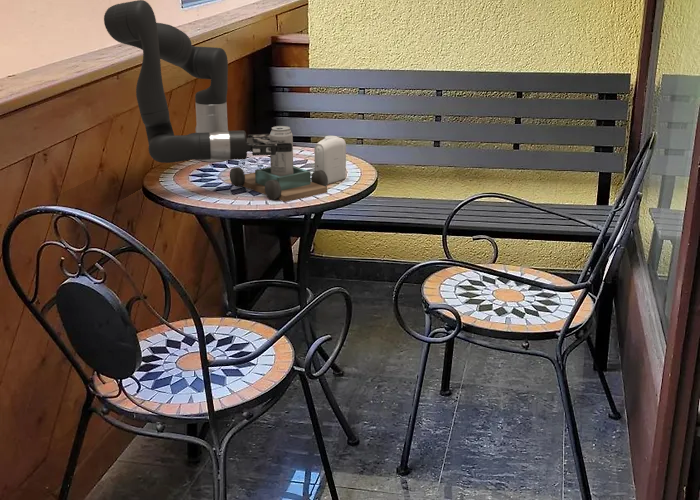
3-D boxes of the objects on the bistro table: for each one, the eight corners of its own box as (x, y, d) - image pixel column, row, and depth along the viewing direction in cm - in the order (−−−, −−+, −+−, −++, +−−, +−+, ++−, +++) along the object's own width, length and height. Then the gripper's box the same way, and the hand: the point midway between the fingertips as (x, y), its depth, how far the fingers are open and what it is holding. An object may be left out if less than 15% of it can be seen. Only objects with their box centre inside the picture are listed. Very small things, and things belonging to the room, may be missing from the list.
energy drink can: (298, 183, 217) (297, 127, 212) (281, 187, 213) (280, 131, 208) (283, 179, 221) (281, 124, 215) (266, 183, 217) (264, 128, 211)
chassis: (226, 183, 222) (226, 165, 220) (276, 173, 232) (276, 156, 231) (280, 203, 205) (279, 184, 203) (331, 191, 216) (331, 173, 214)
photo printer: (323, 186, 220) (324, 141, 216) (312, 183, 223) (312, 139, 219) (347, 179, 228) (348, 135, 224) (336, 176, 230) (336, 133, 226)
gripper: (229, 137, 202) (293, 135, 206) (225, 125, 215) (285, 124, 219) (230, 166, 205) (293, 164, 208) (226, 153, 218) (286, 151, 221)
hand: (289, 143), depth 213 cm, fingers open, 8 cm apart
